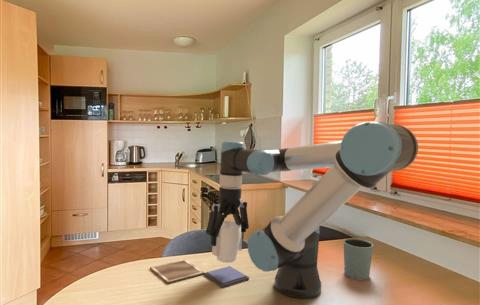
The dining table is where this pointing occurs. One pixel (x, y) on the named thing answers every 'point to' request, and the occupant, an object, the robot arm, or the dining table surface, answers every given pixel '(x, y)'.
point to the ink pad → (226, 276)
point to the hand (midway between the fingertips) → (227, 251)
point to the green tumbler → (357, 258)
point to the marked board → (176, 271)
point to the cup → (229, 241)
